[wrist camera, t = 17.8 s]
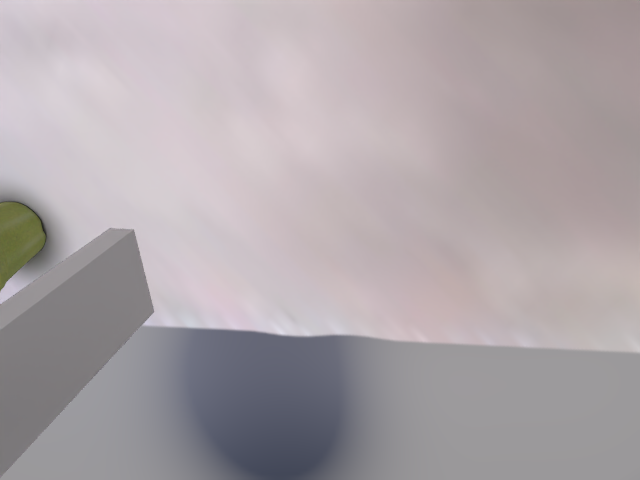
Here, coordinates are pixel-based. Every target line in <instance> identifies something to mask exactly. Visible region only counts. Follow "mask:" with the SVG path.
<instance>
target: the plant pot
mask: <svg viewBox="0 0 640 480" xmlns="http://www.w3.org/2000/svg"><path fill="white" fill-rule="evenodd" d="M45 240H46V235H45V234H44V232H43V230H42V225H41V221H40V219H39V218H38V217H37V215H36V214H35V213H34V212H33V211H32V210H30V209H29V208H28V207H26V206H24V205H22V204H20V203H17V202H2V203H0V291H1V289H2V288H3V287H4V286H5V284H6V282H7V281H8V280H9V279H10V278H11V277H12V276H13V275H14V274H15V273H16V272H17V271H18V270H19V269H20V268H21V267H22V266H24V265H25V264H26V263H27V262H28V261H29V260H30V259H31V258H32V257H34V256H35V255H36V254H37V253H38V252H39V251H40V250H41V249H42V248H43V246H44V244H45Z"/></svg>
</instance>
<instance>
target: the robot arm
mask: <svg viewBox="0 0 640 480" xmlns="http://www.w3.org/2000/svg"><path fill="white" fill-rule="evenodd" d="M153 313H154V309H153V305H152V301H151V296H150V292H149V288H148V284H147V280H146V276H145V272H144V268H143V264H142V260H141V256H140V252H139V248H138V244H137V240H136V236H135V232H134V230H132V229H115V228H110V229H108V230H107V231H105V232H104V233H102V234H101V235H100V236H98V237H97V238H95V239H94V240H92V241H91V242H89V243H88V244H87V245H85V246H84V247H82V248H81V249H79V250H78V251H77V252H75V253H74V254H72V255H71V256H69V257H68V258H66V259H65V260H64V261H62V262H61V263H59V264H58V265H56V266H55V267H54V268H52V269H51V270H49V271H48V272H46V273H45V274H43V275H42V276H41V277H39V278H38V279H36V280H35V281H33V282H32V283H31V284H29V285H28V286H26V287H25V288H23V289H22V290H20V291H19V292H18V293H16V294H15V295H13V296H12V297H10V298H9V299H8V300H6V301H5V302H3V303H2V304H0V477H1V476H2V475H3V474H4V473H5V472H6V471H7V470H8V469H9V468H10V467H11V466H12V465H13V463H14V462H15V461H16V460H17V459H18V458H19V457H20V456H21V455H22V454H23V453H24V452H25V450H26V449H27V448H28V447H29V446H30V445H31V444H32V443H33V442H34V441H35V440H36V439H37V437H38V436H39V435H40V434H41V433H42V432H43V431H44V430H45V429H46V428H47V427H48V426H49V424H51V422H52V421H53V420H54V419H55V418H56V417H57V416H58V415H59V414H60V413H61V412H62V411H63V410H64V408H65V407H66V406H67V405H68V404H69V403H70V402H71V401H72V400H73V399H74V398H75V396H77V394H78V393H79V392H80V391H81V390H82V389H83V388H84V387H85V386H86V385H87V384H88V383H89V381H90V380H91V379H92V378H93V377H94V376H95V375H96V374H97V373H98V372H99V370H101V369H102V368H103V366H104V365H105V364H106V363H107V362H108V361H109V360H110V359H111V358H112V357H113V356H114V355H115V353H116V352H117V351H118V350H119V349H120V348H121V347H122V346H123V345H124V344H125V343H126V342H127V341H128V340H129V338H130V337H131V336H132V335H133V334H134V333H135V332H136V331H137V330H138V329H139V328H140V327H141V326H142V324H143V323H144V322H145V321H146V320H147V319H148V318H149V317H150V316H151V315H152V314H153Z"/></svg>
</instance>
